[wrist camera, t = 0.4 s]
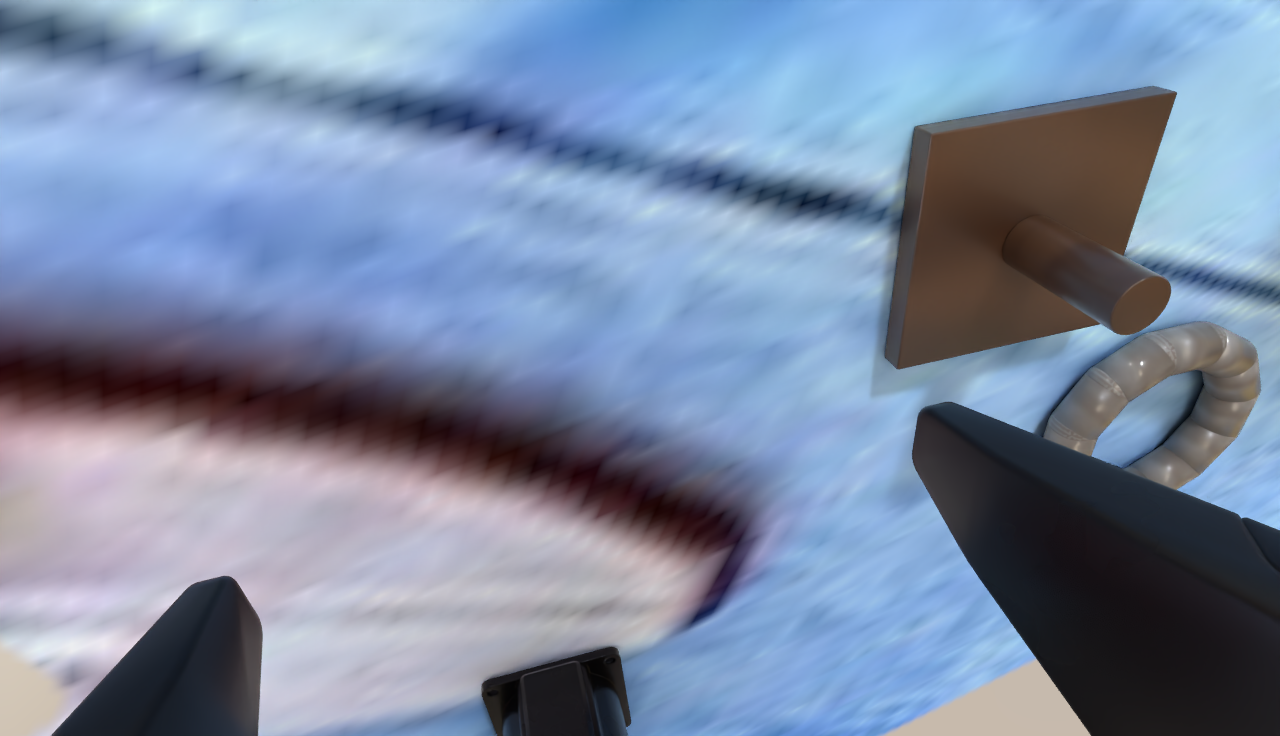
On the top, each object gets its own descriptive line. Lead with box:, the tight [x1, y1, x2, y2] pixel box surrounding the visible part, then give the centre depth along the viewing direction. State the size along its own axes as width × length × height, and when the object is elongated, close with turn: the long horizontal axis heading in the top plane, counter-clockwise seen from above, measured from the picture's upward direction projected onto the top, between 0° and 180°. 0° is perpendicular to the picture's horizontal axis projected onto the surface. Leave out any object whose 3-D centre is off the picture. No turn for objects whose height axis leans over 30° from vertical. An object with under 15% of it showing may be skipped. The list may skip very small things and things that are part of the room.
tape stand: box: [885, 86, 1177, 369], centre depth 24 cm, size 9×9×6 cm
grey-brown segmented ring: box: [1043, 321, 1261, 490], centre depth 33 cm, size 10×10×2 cm
